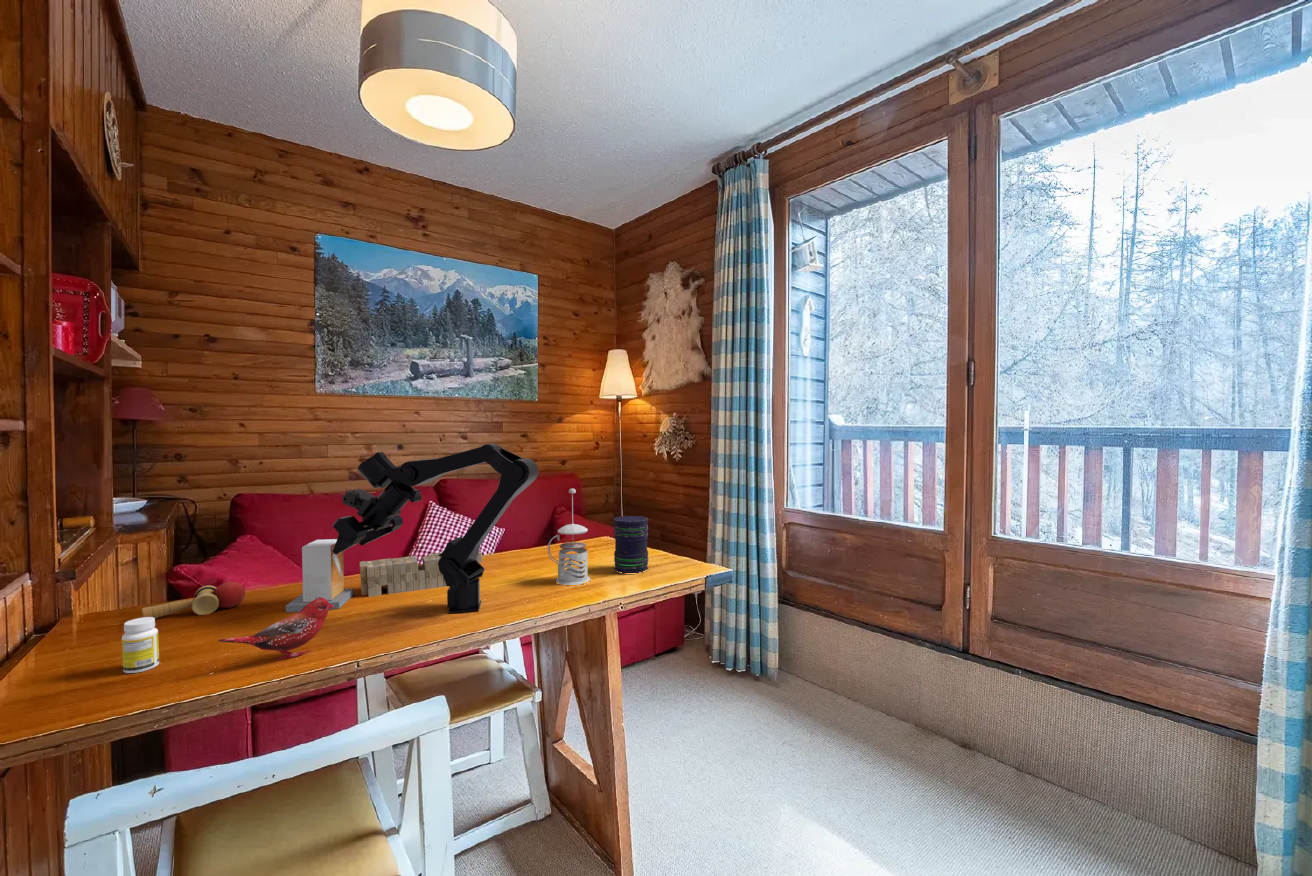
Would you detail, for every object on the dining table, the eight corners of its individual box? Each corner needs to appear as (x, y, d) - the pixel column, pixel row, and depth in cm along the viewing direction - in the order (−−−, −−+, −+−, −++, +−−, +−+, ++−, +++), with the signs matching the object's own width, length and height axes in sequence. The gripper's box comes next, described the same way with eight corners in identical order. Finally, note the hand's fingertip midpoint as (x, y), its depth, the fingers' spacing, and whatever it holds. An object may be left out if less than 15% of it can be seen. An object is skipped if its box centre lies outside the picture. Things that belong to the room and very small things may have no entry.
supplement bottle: (138, 662, 101) (136, 616, 100) (166, 661, 101) (165, 615, 101) (114, 674, 96) (113, 625, 96) (144, 673, 96) (143, 625, 96)
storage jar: (610, 573, 158) (609, 521, 157) (618, 565, 167) (618, 515, 167) (645, 575, 156) (644, 521, 156) (651, 566, 166) (650, 515, 165)
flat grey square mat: (354, 594, 140) (353, 588, 140) (339, 608, 129) (339, 602, 129) (305, 597, 138) (305, 591, 138) (285, 612, 127) (285, 605, 127)
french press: (589, 586, 146) (588, 490, 145) (544, 586, 146) (543, 490, 145) (593, 575, 156) (592, 486, 155) (552, 575, 156) (551, 486, 155)
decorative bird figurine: (337, 648, 106) (336, 596, 106) (220, 679, 94) (218, 620, 93) (333, 644, 108) (332, 593, 108) (217, 673, 96) (216, 615, 96)
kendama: (143, 633, 119) (246, 604, 129) (137, 603, 119) (241, 577, 130) (149, 628, 125) (247, 601, 136) (143, 601, 125) (242, 576, 136)
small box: (332, 601, 130) (330, 545, 130) (302, 602, 129) (300, 546, 129) (345, 590, 138) (343, 538, 138) (316, 592, 137) (315, 539, 137)
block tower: (361, 602, 137) (483, 581, 151) (359, 568, 137) (482, 550, 151) (361, 593, 144) (478, 574, 158) (359, 561, 144) (476, 545, 158)
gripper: (390, 474, 140) (350, 517, 142) (339, 482, 122) (294, 531, 123) (420, 505, 140) (380, 548, 141) (374, 518, 121) (328, 568, 123)
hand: (347, 548), depth 132 cm, fingers open, 9 cm apart
